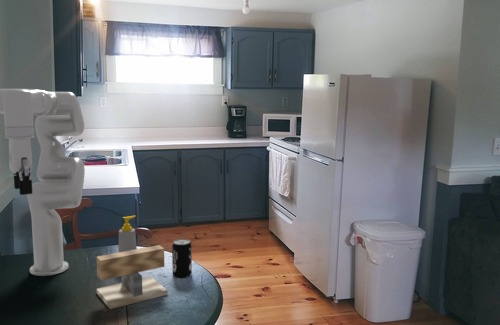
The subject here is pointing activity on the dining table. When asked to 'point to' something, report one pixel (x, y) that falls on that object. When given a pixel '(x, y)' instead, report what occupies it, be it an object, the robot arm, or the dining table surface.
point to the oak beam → (130, 262)
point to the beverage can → (182, 258)
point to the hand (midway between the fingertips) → (23, 191)
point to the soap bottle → (127, 237)
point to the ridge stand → (131, 291)
